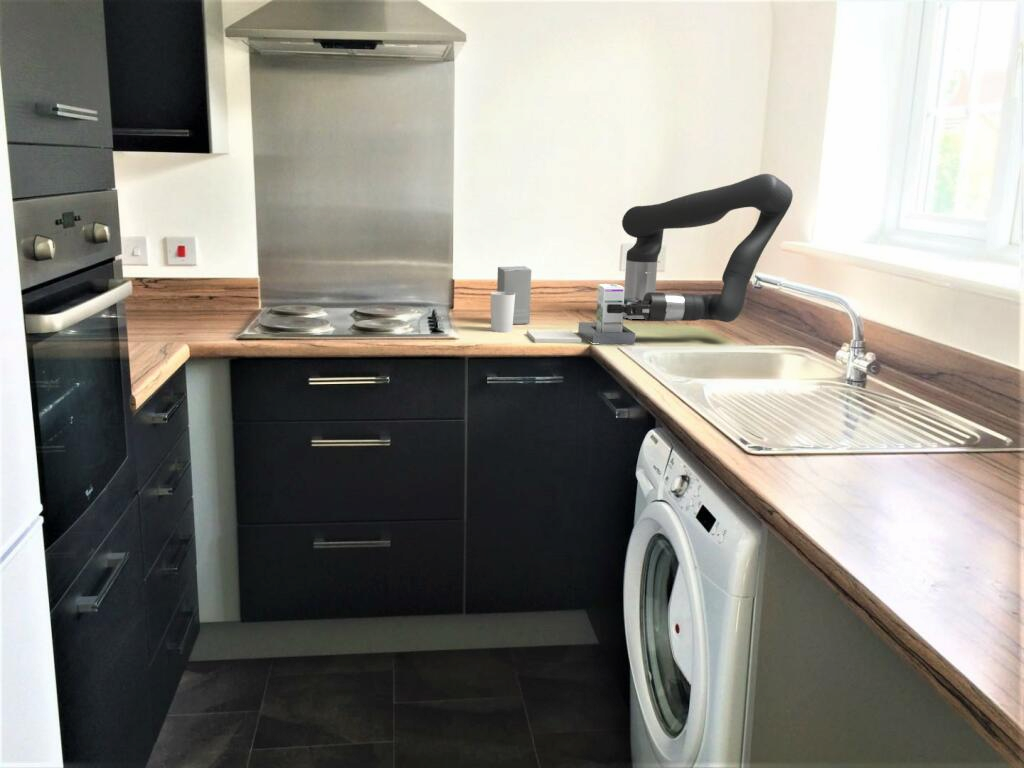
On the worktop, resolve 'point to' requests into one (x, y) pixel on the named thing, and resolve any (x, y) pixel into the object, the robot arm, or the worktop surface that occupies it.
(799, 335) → the worktop surface
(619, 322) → the syrup box
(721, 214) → the robot arm
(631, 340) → the dark grey tray
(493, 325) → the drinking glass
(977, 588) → the worktop surface
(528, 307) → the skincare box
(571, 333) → the off-white mat
